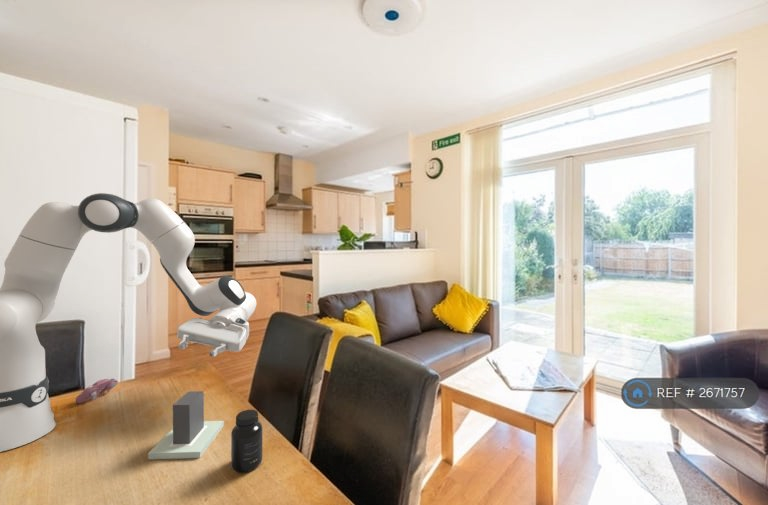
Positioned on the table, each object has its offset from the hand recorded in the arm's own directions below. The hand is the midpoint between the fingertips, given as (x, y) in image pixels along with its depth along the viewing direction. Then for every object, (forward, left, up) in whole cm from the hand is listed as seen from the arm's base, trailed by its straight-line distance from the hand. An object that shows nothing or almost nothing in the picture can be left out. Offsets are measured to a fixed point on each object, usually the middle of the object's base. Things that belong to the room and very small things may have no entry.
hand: (196, 350), depth 91 cm
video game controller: (-39, +14, -21) cm, 46 cm away
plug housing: (+3, -10, -19) cm, 22 cm away
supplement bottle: (+21, -19, -21) cm, 36 cm away
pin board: (+3, -10, -20) cm, 23 cm away
